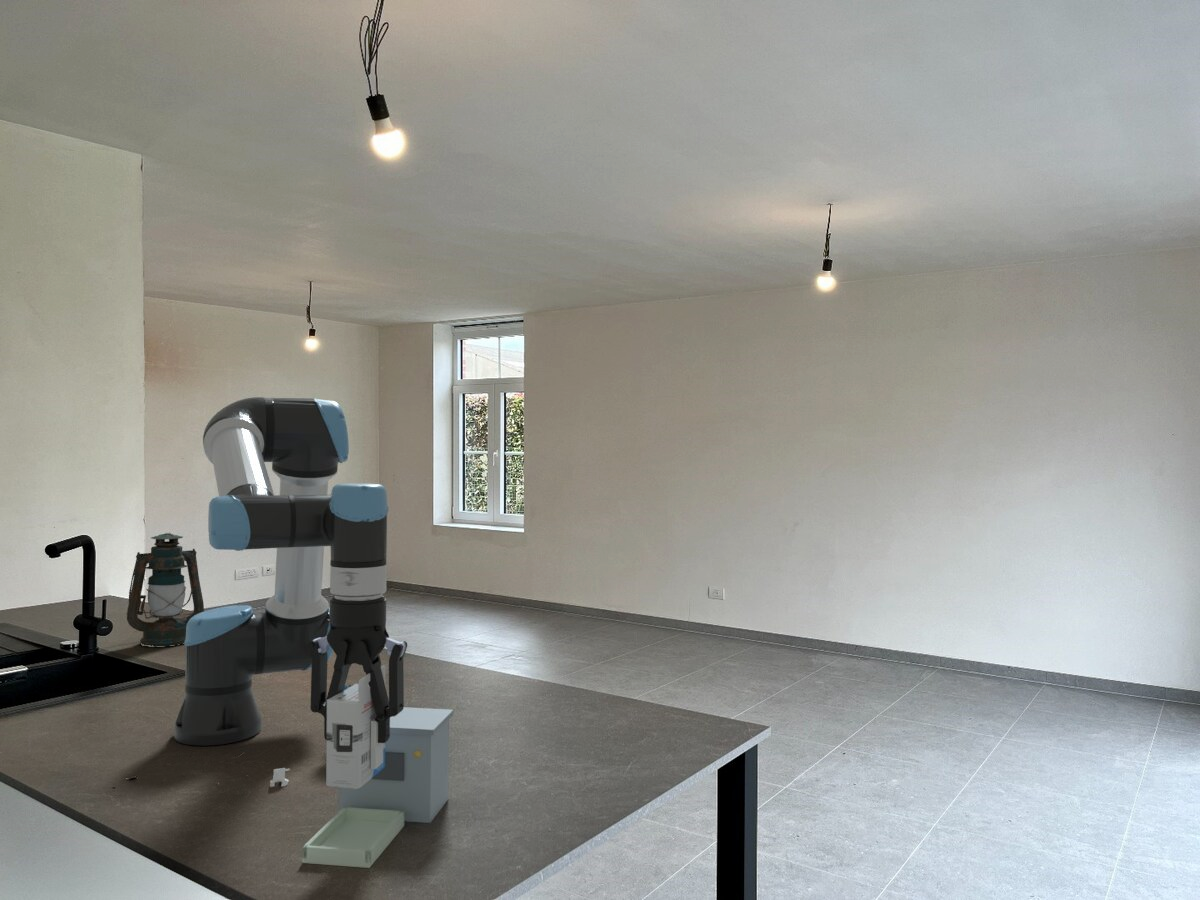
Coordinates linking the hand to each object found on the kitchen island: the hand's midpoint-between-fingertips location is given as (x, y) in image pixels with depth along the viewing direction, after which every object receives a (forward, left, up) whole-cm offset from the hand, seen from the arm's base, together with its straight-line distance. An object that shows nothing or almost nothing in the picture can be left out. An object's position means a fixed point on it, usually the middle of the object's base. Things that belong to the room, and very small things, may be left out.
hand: (356, 764), depth 124 cm
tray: (0, 0, -11) cm, 11 cm away
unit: (+1, +13, -11) cm, 17 cm away
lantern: (-100, +110, -11) cm, 149 cm away
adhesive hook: (-21, +20, -12) cm, 31 cm away
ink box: (0, 0, -2) cm, 2 cm away
